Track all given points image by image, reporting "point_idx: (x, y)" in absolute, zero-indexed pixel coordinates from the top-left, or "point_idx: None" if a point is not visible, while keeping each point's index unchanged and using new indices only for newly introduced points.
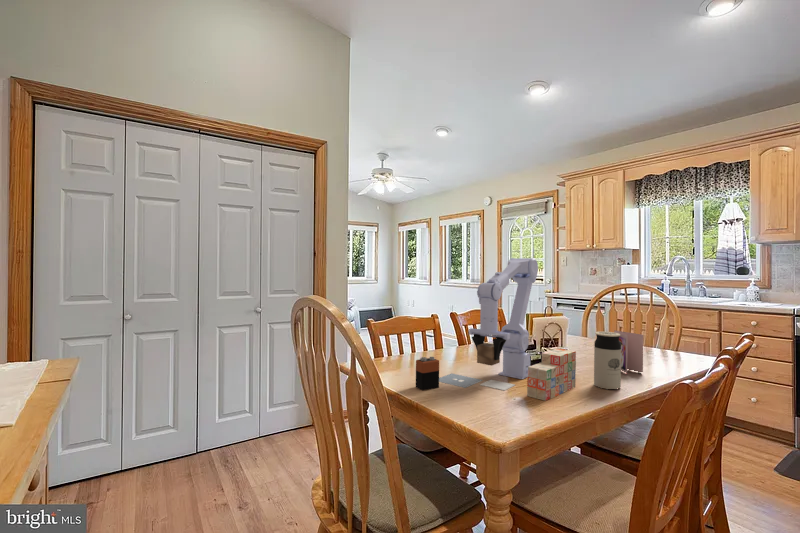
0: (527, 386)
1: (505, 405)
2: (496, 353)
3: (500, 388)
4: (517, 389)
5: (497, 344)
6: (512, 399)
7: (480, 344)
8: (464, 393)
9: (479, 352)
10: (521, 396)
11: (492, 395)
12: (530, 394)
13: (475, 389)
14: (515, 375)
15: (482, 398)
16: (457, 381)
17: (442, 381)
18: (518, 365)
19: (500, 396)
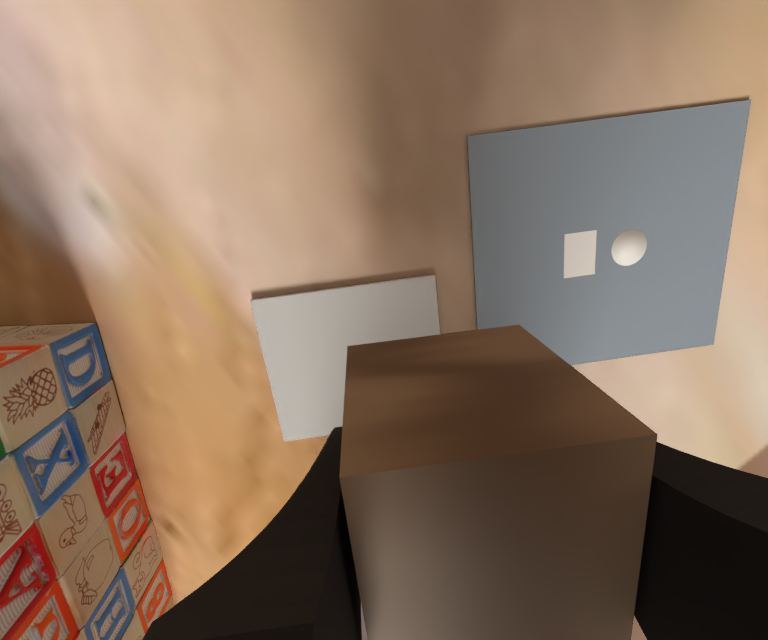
0: (47, 344)
1: (17, 17)
2: (309, 471)
3: (288, 307)
4: (226, 387)
5: (222, 582)
6: (96, 186)
7: (634, 516)
8: (394, 15)
9: (544, 380)
10: (112, 289)
11: (235, 150)
12: (61, 328)
13: (399, 172)
14: None
15: (230, 22)
16: (590, 220)
17: (675, 130)
18: (363, 631)
19: (188, 177)
